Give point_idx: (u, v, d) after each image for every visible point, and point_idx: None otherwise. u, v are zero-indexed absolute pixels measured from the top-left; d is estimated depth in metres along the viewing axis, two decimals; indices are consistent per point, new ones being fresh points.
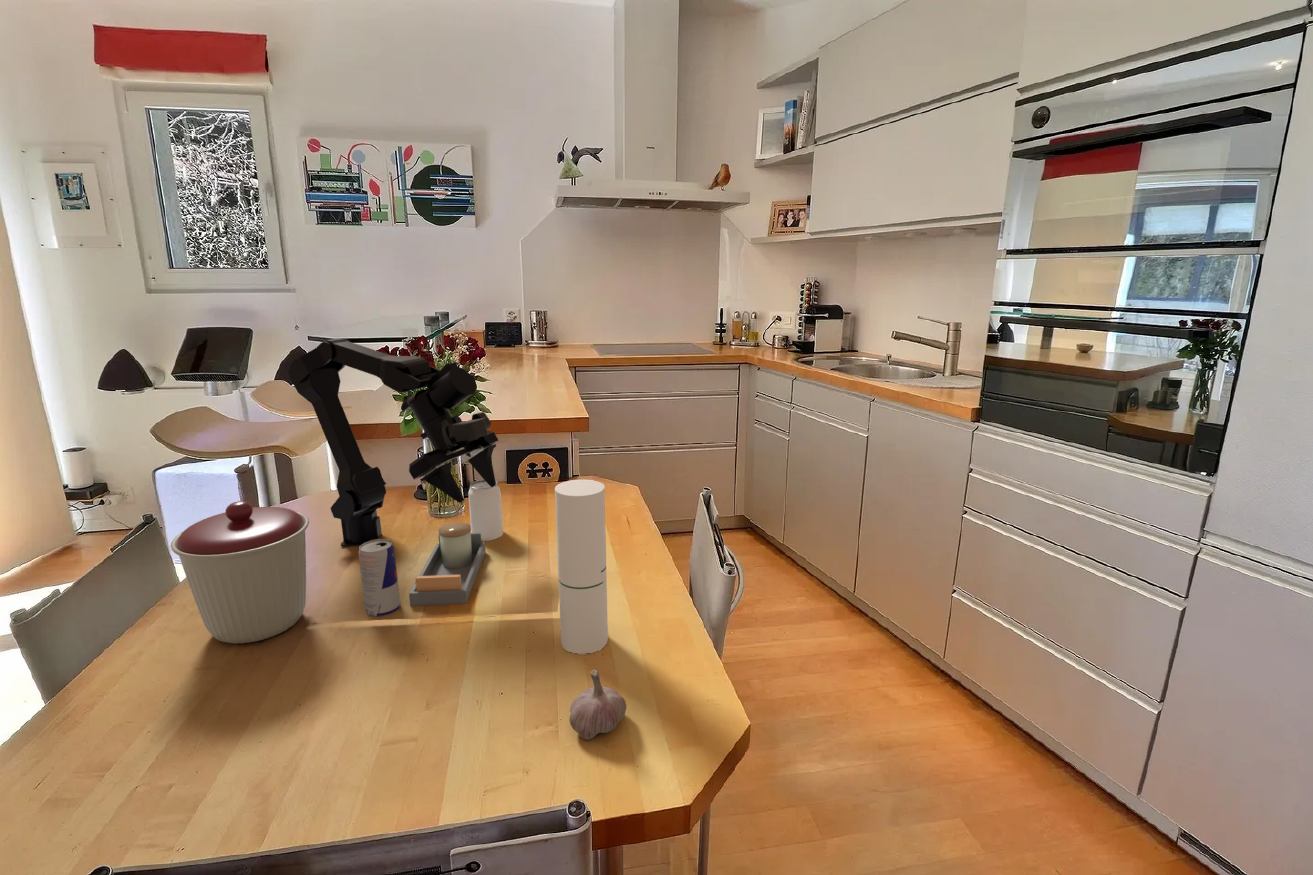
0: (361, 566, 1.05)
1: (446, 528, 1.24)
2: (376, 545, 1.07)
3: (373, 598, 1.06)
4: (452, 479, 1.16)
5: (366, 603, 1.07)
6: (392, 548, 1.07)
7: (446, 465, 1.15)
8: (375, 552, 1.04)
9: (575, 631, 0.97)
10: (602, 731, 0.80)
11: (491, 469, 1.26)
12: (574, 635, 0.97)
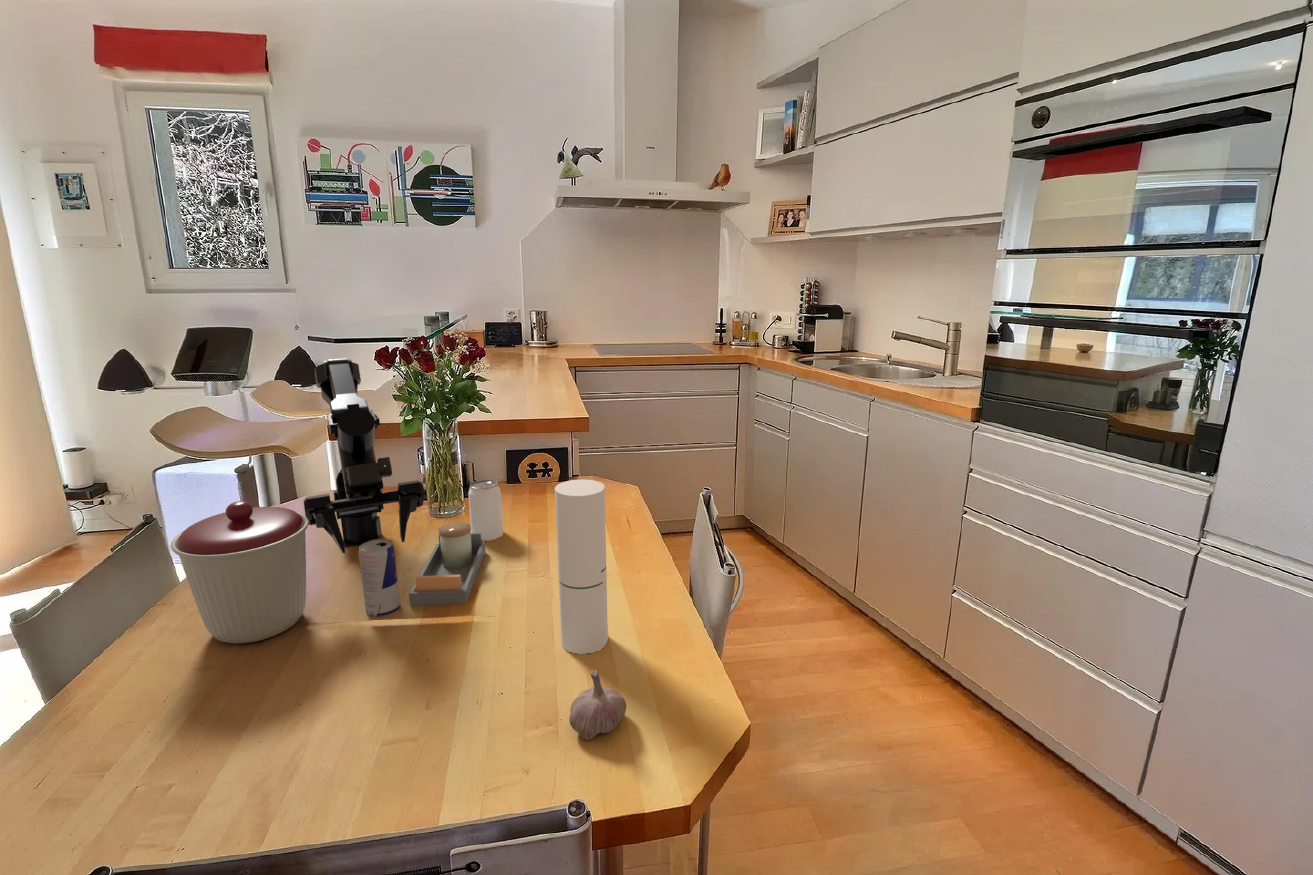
0: (361, 566, 1.05)
1: (446, 528, 1.24)
2: (376, 545, 1.07)
3: (373, 598, 1.06)
4: (335, 527, 1.08)
5: (366, 603, 1.07)
6: (392, 548, 1.07)
7: (326, 510, 1.07)
8: (375, 552, 1.04)
9: (575, 631, 0.97)
10: (602, 731, 0.80)
11: (403, 522, 1.13)
12: (574, 635, 0.97)
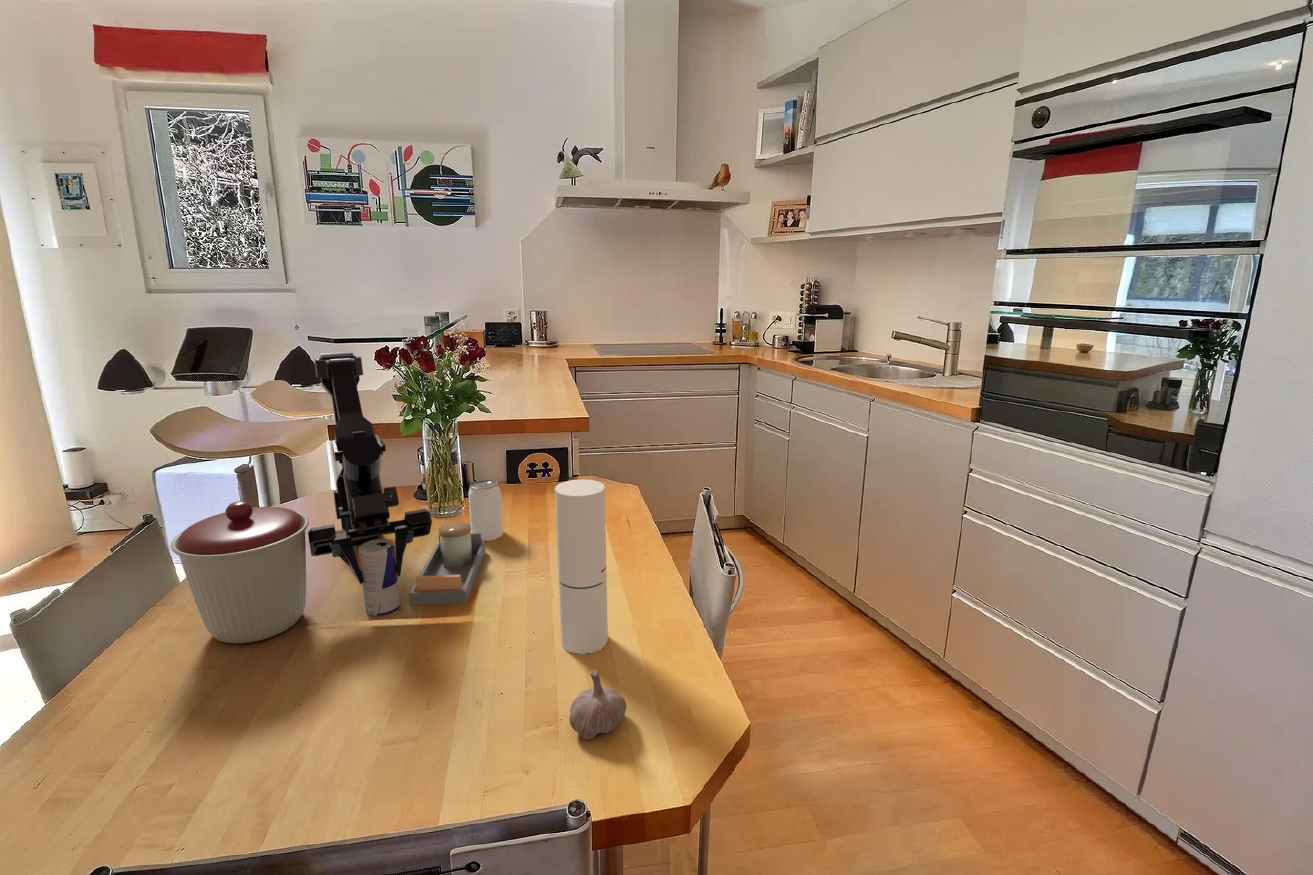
0: (361, 566, 1.05)
1: (446, 528, 1.24)
2: (376, 545, 1.07)
3: (373, 598, 1.06)
4: (352, 557, 1.06)
5: (366, 603, 1.07)
6: (392, 548, 1.07)
7: (343, 540, 1.05)
8: (375, 552, 1.04)
9: (575, 631, 0.97)
10: (602, 731, 0.80)
11: (399, 555, 1.09)
12: (574, 635, 0.97)
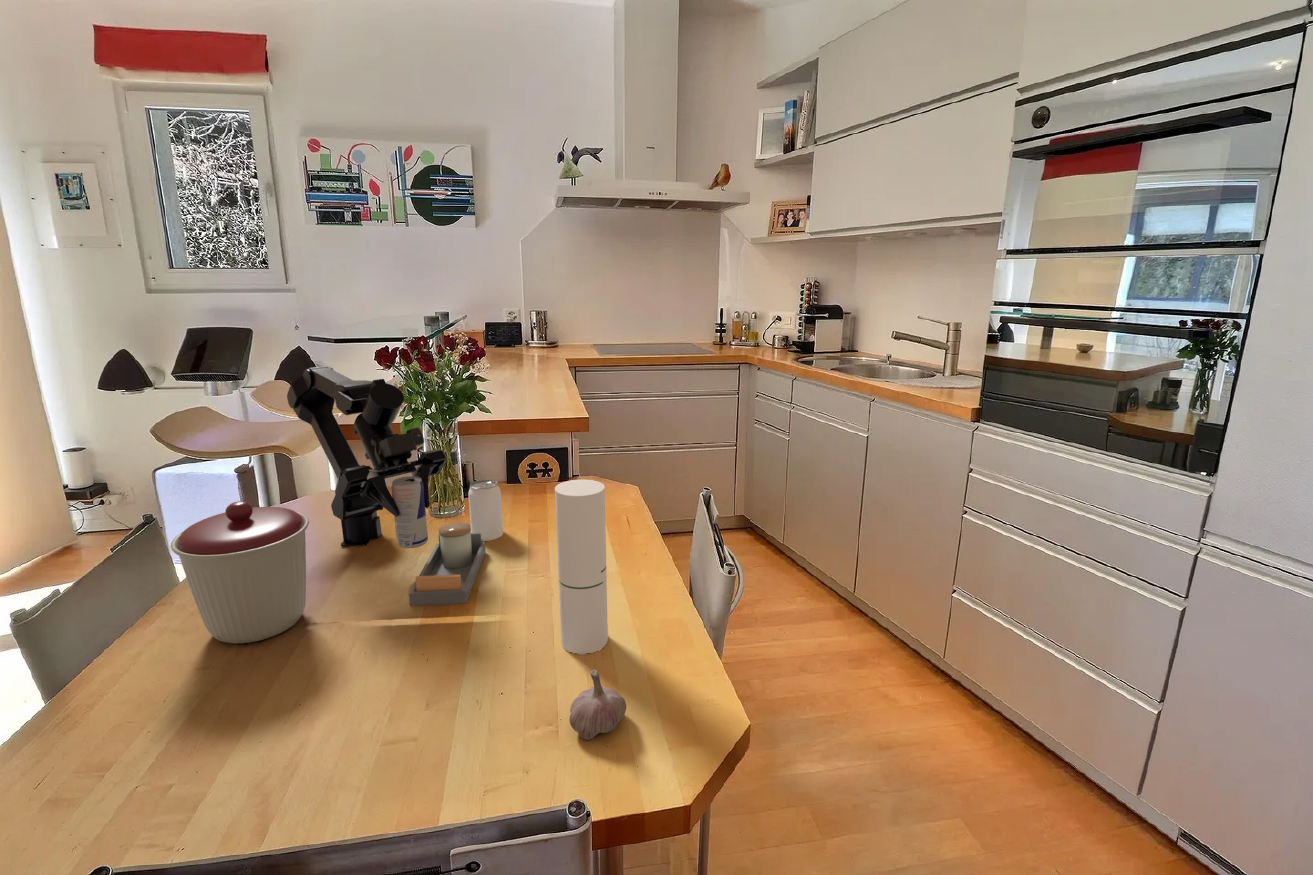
0: (397, 500, 1.16)
1: (446, 528, 1.24)
2: (406, 481, 1.18)
3: (408, 528, 1.17)
4: (386, 493, 1.16)
5: (401, 534, 1.18)
6: (422, 482, 1.19)
7: (377, 478, 1.15)
8: (411, 485, 1.16)
9: (575, 631, 0.97)
10: (602, 731, 0.80)
11: (425, 489, 1.21)
12: (574, 635, 0.97)
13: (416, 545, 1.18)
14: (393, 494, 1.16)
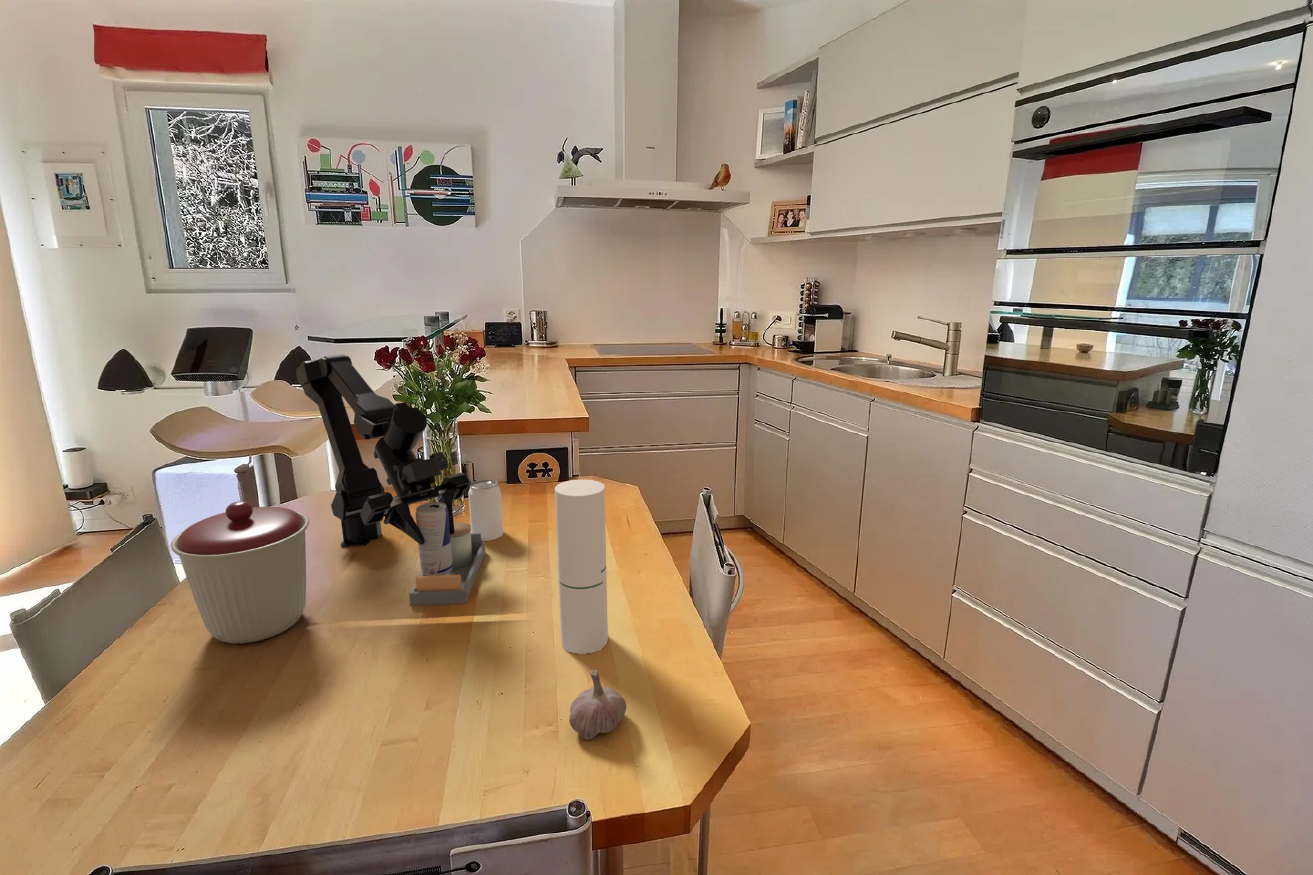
0: (421, 527, 1.12)
1: None
2: (430, 507, 1.14)
3: (433, 556, 1.13)
4: (410, 520, 1.12)
5: (425, 562, 1.14)
6: None
7: (401, 505, 1.11)
8: (436, 512, 1.12)
9: (575, 631, 0.97)
10: (602, 731, 0.80)
11: (450, 515, 1.17)
12: (574, 635, 0.97)
13: (441, 573, 1.14)
14: (417, 521, 1.12)
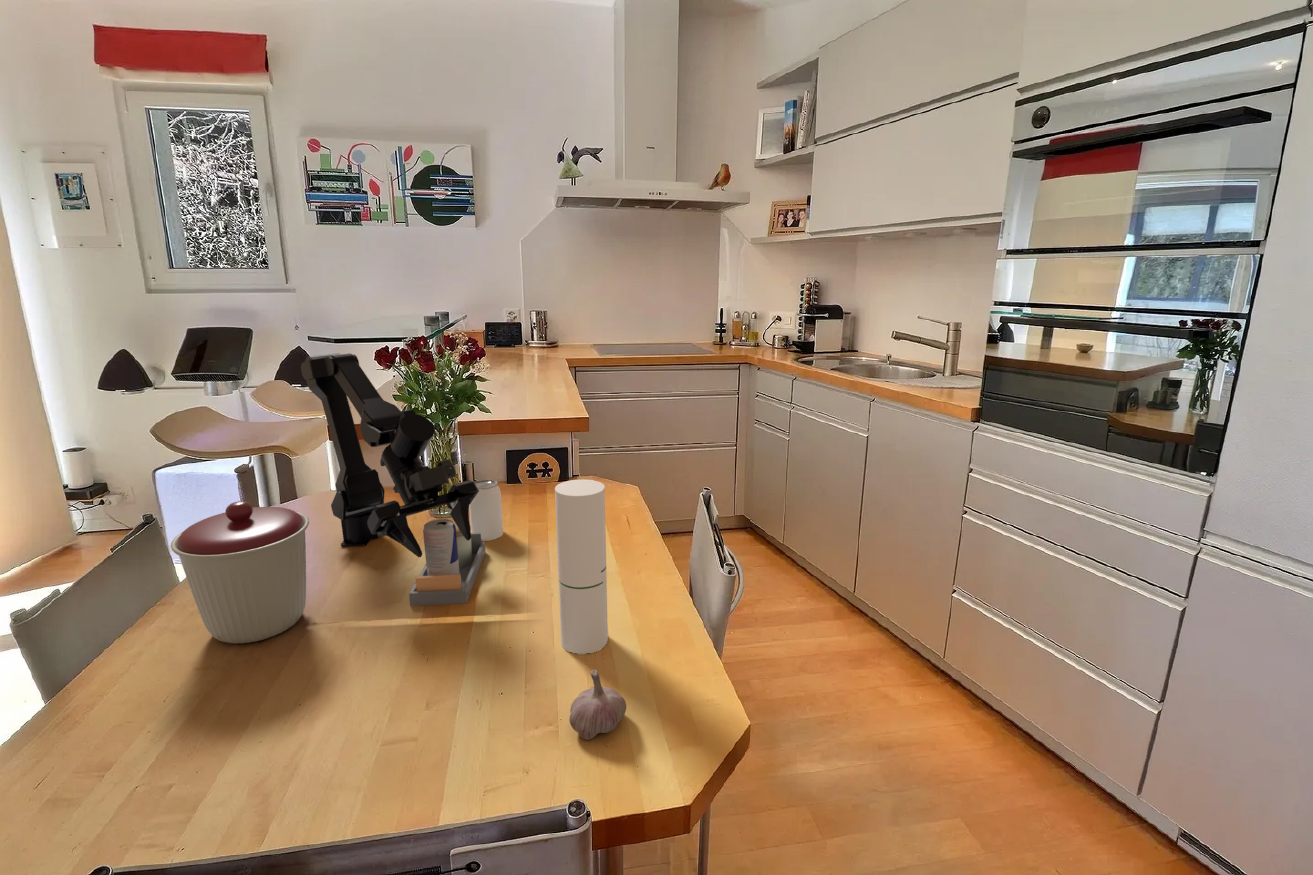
0: (429, 545, 1.11)
1: None
2: (438, 524, 1.14)
3: (441, 574, 1.12)
4: (408, 532, 1.09)
5: None
6: (454, 525, 1.14)
7: (399, 517, 1.08)
8: (444, 529, 1.11)
9: (575, 631, 0.97)
10: (602, 731, 0.80)
11: (466, 521, 1.17)
12: (574, 635, 0.97)
13: None
14: (425, 539, 1.12)
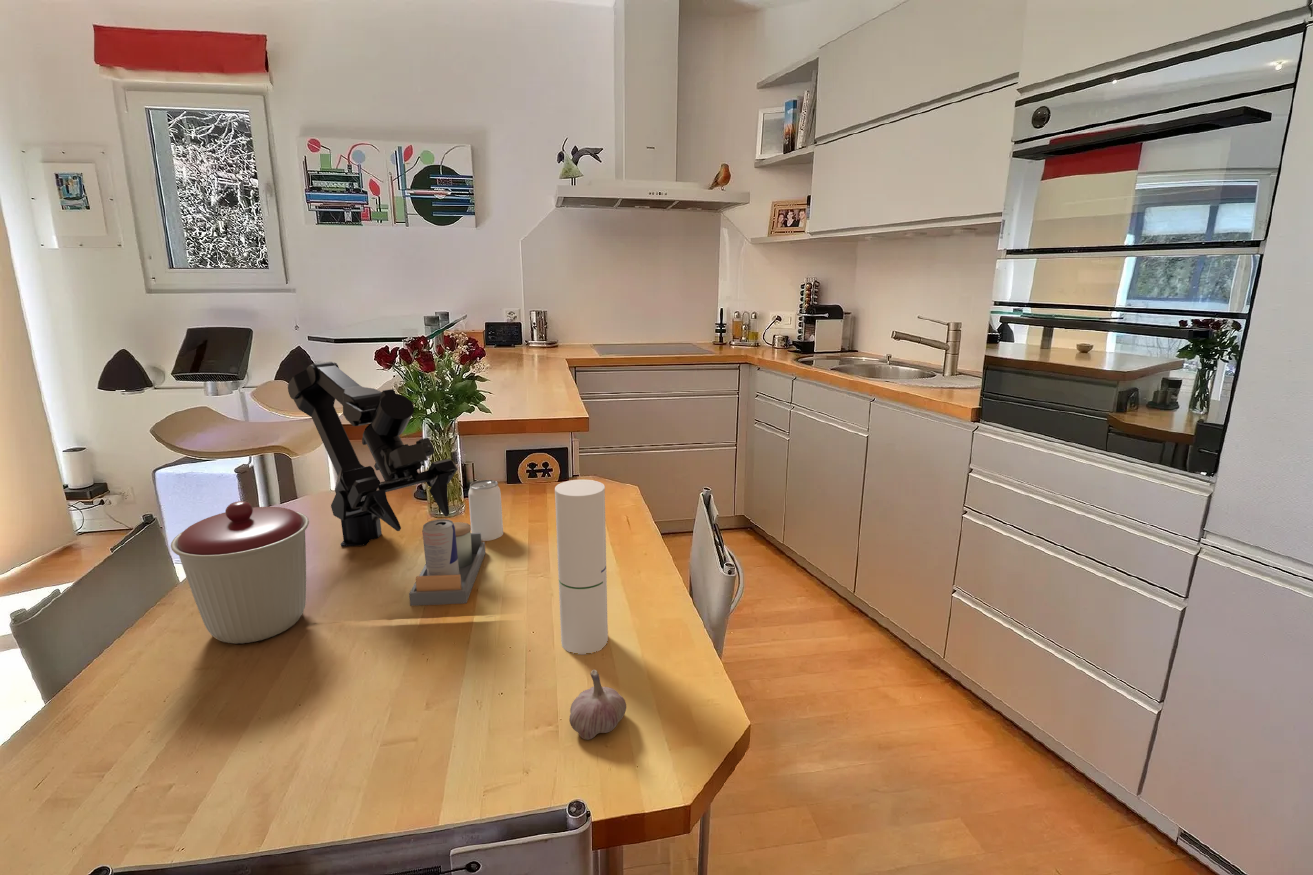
0: (428, 545, 1.11)
1: None
2: (437, 524, 1.13)
3: (441, 574, 1.12)
4: (387, 507, 1.13)
5: None
6: None
7: (378, 492, 1.12)
8: (444, 529, 1.11)
9: (575, 631, 0.97)
10: (602, 731, 0.80)
11: (445, 498, 1.21)
12: (574, 635, 0.97)
13: None
14: (424, 539, 1.11)
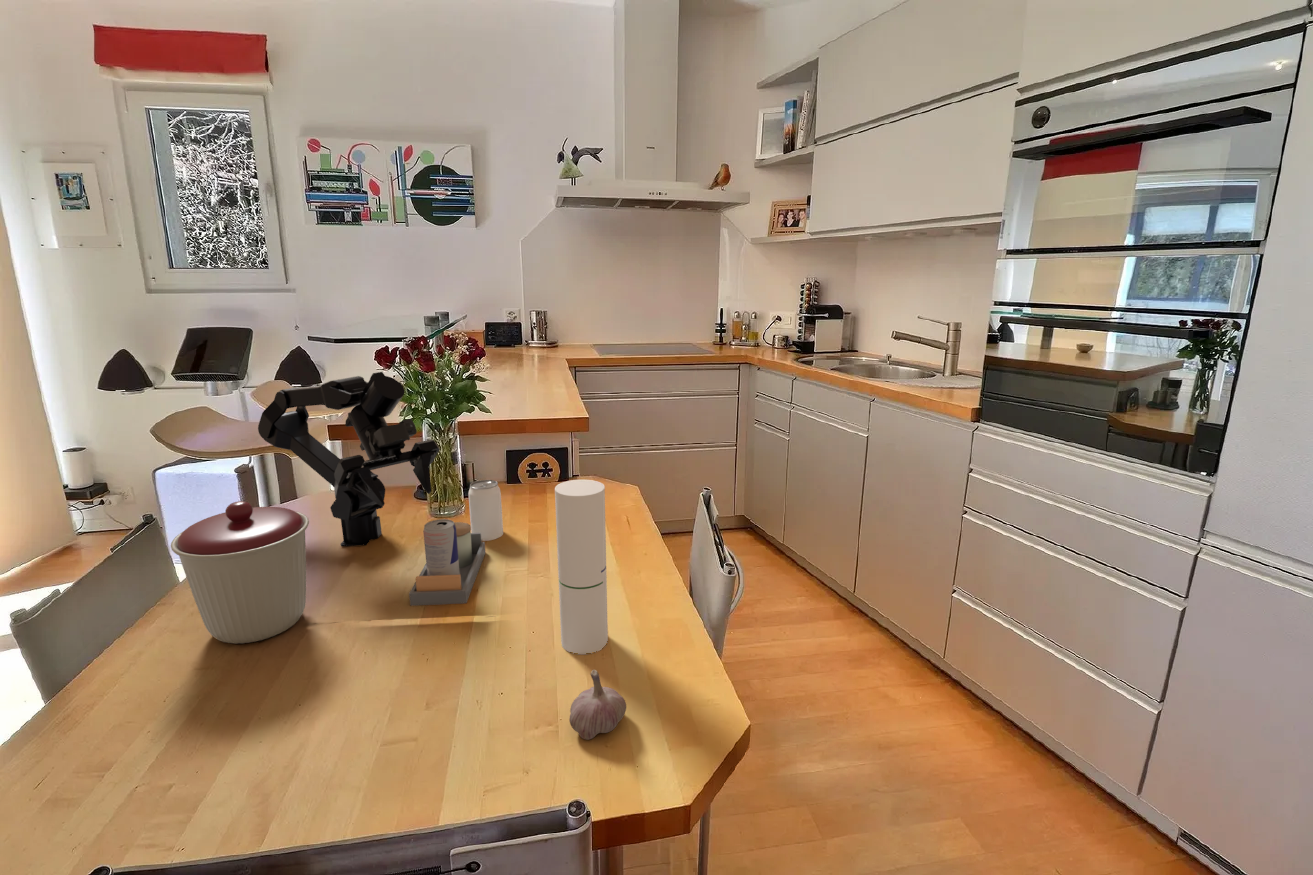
0: (429, 545, 1.11)
1: None
2: (438, 524, 1.13)
3: (442, 574, 1.12)
4: (371, 483, 1.19)
5: None
6: None
7: (363, 469, 1.18)
8: (445, 529, 1.11)
9: (575, 631, 0.97)
10: (602, 731, 0.80)
11: (427, 476, 1.27)
12: (574, 635, 0.97)
13: None
14: (425, 539, 1.12)
